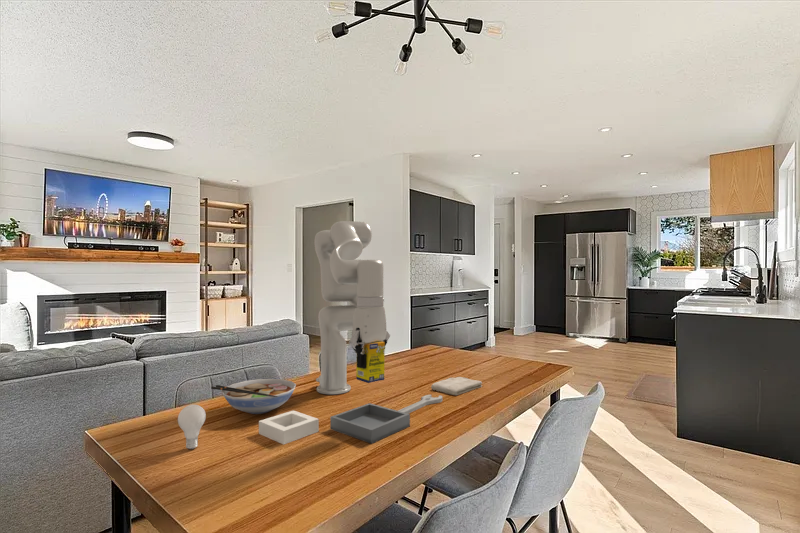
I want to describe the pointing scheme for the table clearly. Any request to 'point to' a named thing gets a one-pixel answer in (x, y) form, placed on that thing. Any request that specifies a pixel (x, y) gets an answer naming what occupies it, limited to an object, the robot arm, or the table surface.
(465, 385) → the washcloth
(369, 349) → the supplement box
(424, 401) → the adjustable wrench
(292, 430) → the socket collar
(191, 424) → the lightbulb
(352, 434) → the tray
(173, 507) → the table surface
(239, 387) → the ramen bowl
